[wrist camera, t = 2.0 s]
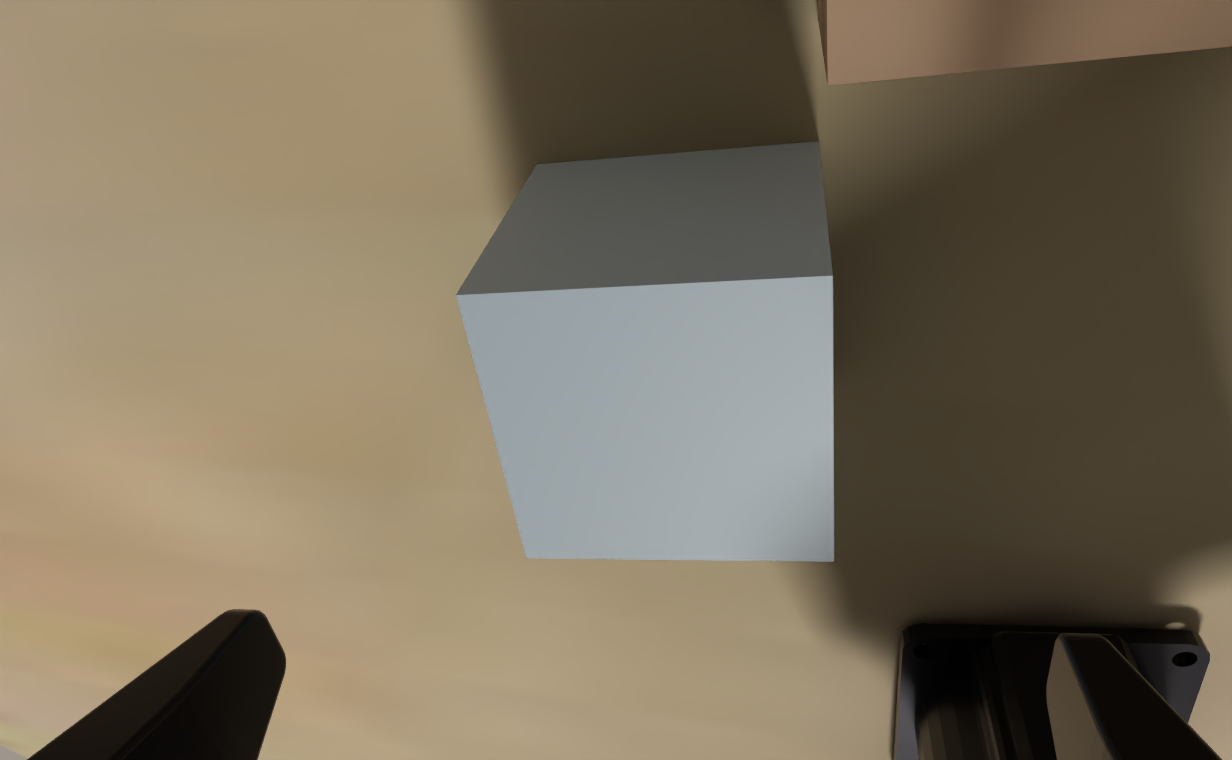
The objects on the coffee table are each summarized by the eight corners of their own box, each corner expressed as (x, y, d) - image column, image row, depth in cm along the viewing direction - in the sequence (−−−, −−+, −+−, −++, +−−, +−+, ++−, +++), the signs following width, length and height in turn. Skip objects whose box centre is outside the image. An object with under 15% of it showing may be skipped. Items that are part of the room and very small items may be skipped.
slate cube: (821, 380, 18) (834, 561, 14) (581, 388, 19) (526, 558, 15) (818, 139, 15) (832, 275, 11) (537, 162, 16) (455, 294, 12)
